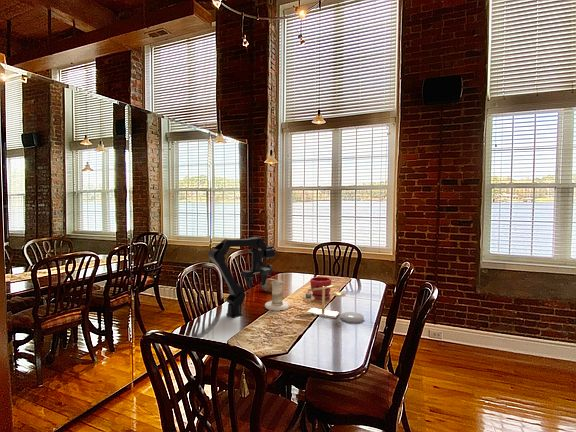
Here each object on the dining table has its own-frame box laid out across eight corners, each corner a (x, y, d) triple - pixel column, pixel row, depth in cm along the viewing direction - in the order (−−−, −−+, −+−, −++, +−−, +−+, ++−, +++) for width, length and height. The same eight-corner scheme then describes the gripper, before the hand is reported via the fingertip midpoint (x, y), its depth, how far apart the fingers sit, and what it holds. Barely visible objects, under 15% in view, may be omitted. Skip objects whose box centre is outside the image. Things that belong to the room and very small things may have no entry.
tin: (260, 290, 236) (260, 278, 236) (263, 289, 239) (263, 277, 239) (280, 293, 229) (280, 280, 229) (282, 292, 232) (282, 279, 232)
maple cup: (281, 306, 198) (281, 284, 197) (269, 305, 200) (270, 283, 199) (284, 303, 205) (284, 281, 204) (273, 302, 206) (273, 280, 206)
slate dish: (355, 324, 176) (355, 321, 176) (335, 318, 185) (335, 315, 185) (368, 318, 185) (368, 316, 185) (349, 313, 193) (349, 310, 193)
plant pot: (330, 294, 228) (330, 276, 227) (331, 300, 215) (331, 281, 214) (310, 293, 229) (310, 275, 229) (309, 299, 216) (310, 280, 216)
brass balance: (300, 312, 193) (300, 281, 192) (304, 308, 199) (305, 279, 198) (343, 319, 183) (344, 287, 182) (346, 315, 190) (347, 284, 188)
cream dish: (276, 312, 193) (276, 310, 193) (260, 306, 203) (260, 304, 202) (294, 307, 203) (294, 304, 202) (277, 301, 212) (277, 299, 212)
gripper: (253, 264, 183) (253, 293, 184) (279, 259, 196) (279, 286, 197) (240, 261, 191) (240, 289, 192) (266, 256, 204) (265, 283, 205)
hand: (257, 287), depth 196 cm, fingers open, 9 cm apart
